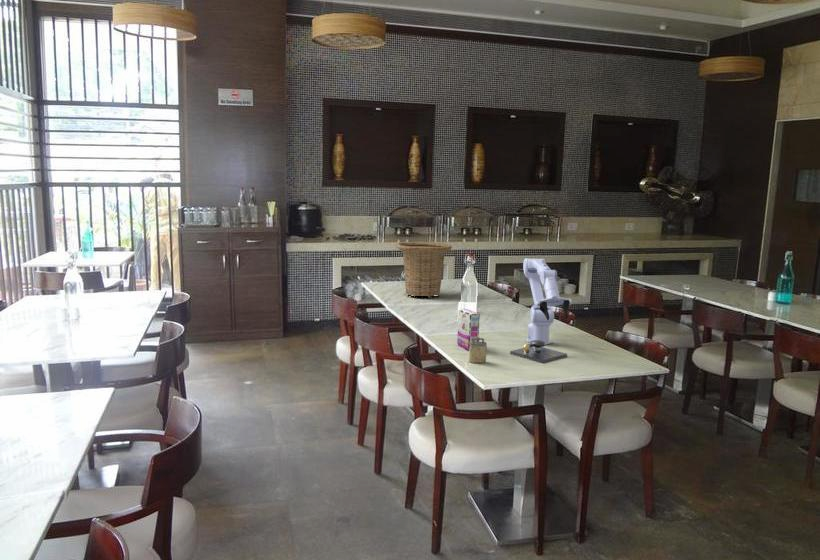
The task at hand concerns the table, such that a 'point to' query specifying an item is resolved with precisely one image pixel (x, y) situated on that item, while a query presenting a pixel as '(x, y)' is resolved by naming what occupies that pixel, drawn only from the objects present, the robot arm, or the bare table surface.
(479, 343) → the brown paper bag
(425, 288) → the wicker basket
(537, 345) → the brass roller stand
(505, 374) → the table surface
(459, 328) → the candy bar box
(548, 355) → the lever base
